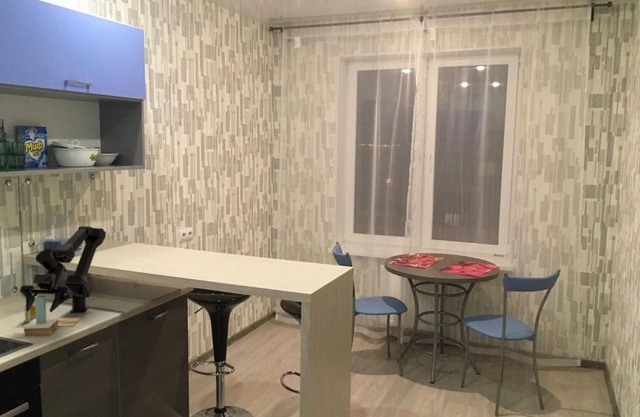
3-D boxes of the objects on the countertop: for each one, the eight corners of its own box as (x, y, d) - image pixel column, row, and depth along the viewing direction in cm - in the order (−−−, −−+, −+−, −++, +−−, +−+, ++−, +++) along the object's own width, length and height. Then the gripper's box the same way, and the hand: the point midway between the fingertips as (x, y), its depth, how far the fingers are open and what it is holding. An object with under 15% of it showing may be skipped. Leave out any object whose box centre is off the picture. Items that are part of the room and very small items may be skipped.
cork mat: (55, 319, 222) (55, 318, 222) (81, 318, 223) (81, 317, 223) (46, 327, 212) (46, 326, 212) (73, 326, 213) (73, 325, 213)
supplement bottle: (42, 317, 224) (41, 294, 222) (36, 321, 218) (34, 298, 217) (29, 317, 223) (28, 294, 222) (22, 321, 218) (21, 298, 217)
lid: (34, 320, 211) (32, 294, 209) (57, 320, 212) (55, 293, 210) (25, 328, 202) (23, 300, 201) (49, 327, 203) (47, 300, 202)
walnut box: (34, 328, 211) (33, 320, 211) (58, 327, 212) (58, 320, 212) (24, 336, 202) (23, 328, 202) (50, 335, 203) (49, 328, 203)
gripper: (21, 264, 209) (4, 300, 199) (67, 265, 208) (53, 302, 198) (33, 279, 217) (18, 314, 208) (78, 280, 216) (65, 315, 207)
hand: (38, 311), depth 205 cm, fingers open, 9 cm apart
